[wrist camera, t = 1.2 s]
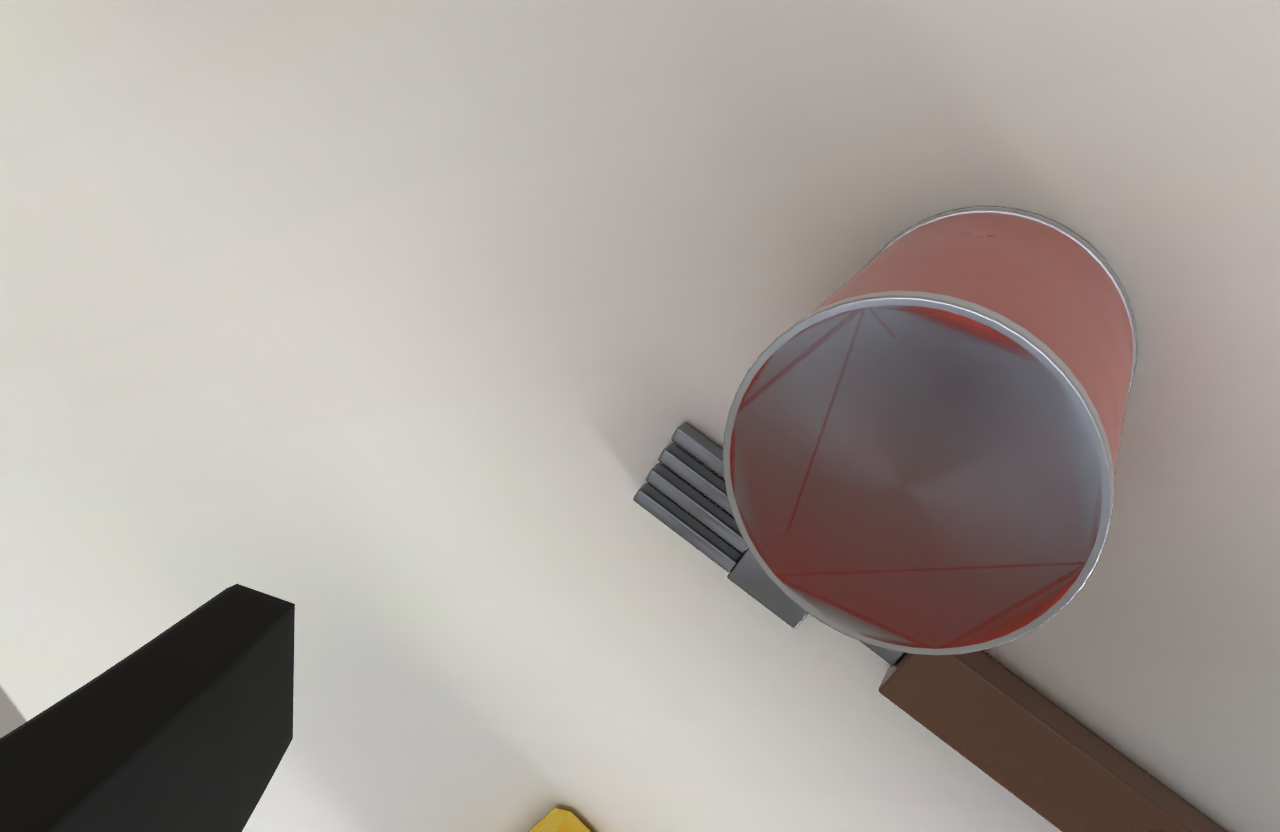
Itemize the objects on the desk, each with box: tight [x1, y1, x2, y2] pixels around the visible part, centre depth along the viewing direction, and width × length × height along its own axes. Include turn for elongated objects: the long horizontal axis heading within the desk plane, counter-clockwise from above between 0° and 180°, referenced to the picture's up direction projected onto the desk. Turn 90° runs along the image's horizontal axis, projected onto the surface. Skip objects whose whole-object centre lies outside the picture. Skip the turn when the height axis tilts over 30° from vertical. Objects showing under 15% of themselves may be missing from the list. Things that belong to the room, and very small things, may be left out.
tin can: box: [723, 207, 1137, 655], centre depth 17 cm, size 5×5×6 cm
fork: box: [633, 422, 1225, 832], centre depth 22 cm, size 15×2×1 cm, turn 60°
